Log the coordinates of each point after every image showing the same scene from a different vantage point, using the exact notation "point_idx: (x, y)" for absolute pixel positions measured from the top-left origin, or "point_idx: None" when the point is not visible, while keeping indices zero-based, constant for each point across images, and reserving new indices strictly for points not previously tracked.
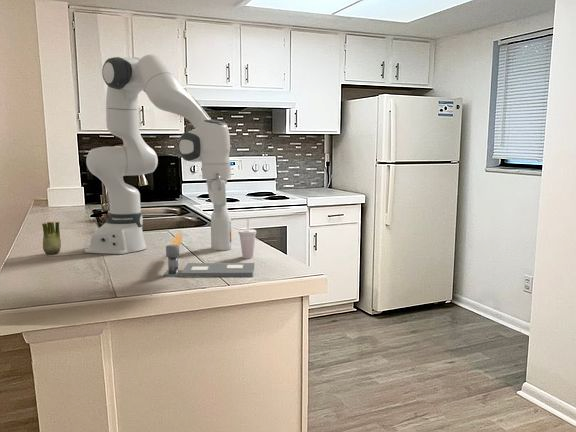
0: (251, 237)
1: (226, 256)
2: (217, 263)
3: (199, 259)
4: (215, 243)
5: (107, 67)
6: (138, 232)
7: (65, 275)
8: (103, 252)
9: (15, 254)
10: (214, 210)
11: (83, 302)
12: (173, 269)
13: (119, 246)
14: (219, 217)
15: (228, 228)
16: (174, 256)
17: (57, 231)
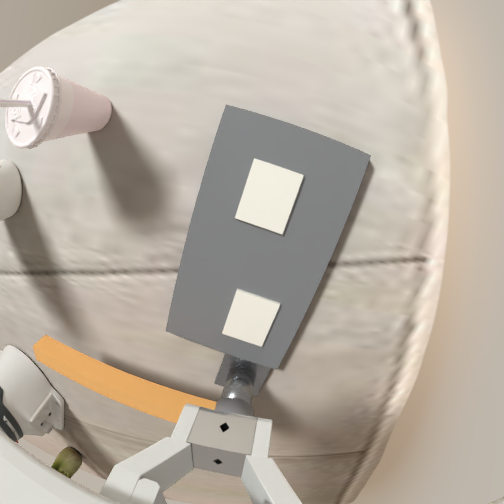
0: (66, 90)
1: (72, 184)
2: (190, 246)
3: (93, 273)
4: (5, 212)
5: None
6: (11, 386)
7: (197, 479)
8: (63, 416)
9: (84, 469)
10: (187, 471)
11: (361, 472)
12: (253, 386)
13: (47, 403)
14: (270, 423)
15: None
16: (253, 413)
17: (56, 468)
